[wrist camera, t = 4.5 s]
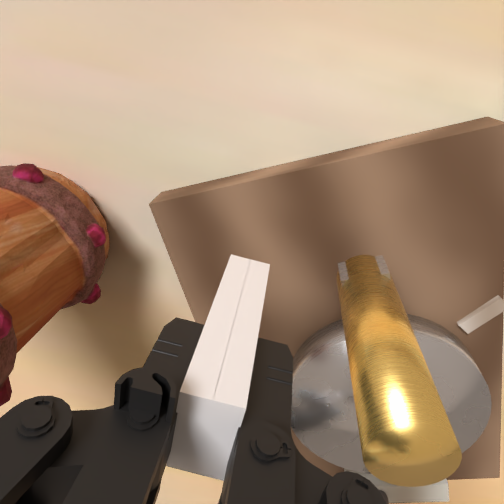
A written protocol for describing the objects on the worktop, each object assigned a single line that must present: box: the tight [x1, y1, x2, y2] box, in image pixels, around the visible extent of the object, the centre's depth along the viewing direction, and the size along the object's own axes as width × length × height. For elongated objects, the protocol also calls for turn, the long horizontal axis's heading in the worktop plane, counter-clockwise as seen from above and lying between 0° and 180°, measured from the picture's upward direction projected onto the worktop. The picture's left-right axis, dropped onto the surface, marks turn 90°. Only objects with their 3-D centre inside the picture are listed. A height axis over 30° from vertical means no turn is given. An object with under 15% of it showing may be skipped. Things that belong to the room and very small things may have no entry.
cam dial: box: [291, 255, 492, 487], centre depth 17 cm, size 16×11×11 cm
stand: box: [149, 117, 504, 504], centre depth 23 cm, size 17×24×5 cm
